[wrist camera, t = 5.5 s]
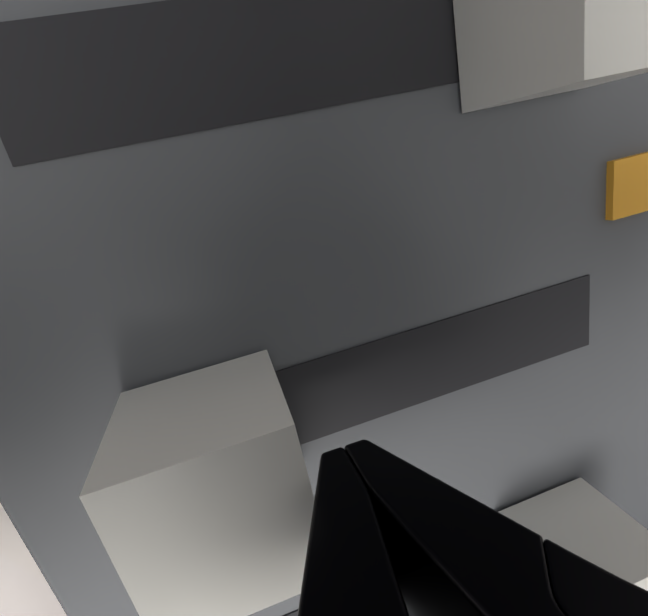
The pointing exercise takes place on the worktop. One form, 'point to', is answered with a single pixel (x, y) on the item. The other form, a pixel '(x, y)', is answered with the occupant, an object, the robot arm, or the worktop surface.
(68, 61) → the breaker panel
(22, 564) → the worktop surface
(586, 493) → the block
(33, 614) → the worktop surface
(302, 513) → the block
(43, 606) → the worktop surface
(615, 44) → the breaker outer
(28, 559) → the worktop surface
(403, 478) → the robot arm
